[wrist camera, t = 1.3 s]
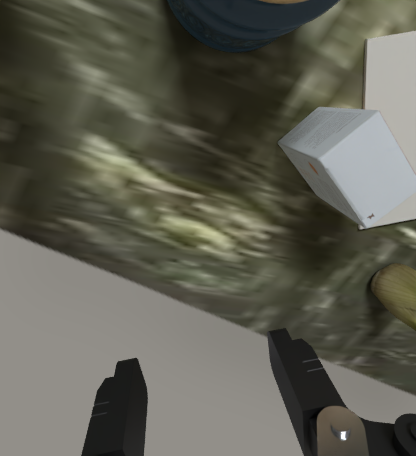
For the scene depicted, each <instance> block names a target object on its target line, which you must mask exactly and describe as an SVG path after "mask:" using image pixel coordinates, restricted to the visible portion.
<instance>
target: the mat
mask: <svg viewBox="0 0 416 456" xmlns="http://www.w3.org/2000/svg"><path fill="white" fill-rule="evenodd" d="M363 109H365V110H379V111H380V112H381V114H382V116H383V118H384V120H385V121H386V123H387V125H388V127H389V128H390V130H391V132H392V134H393V135H394V137H395V139H396V141H397V142H398V144H399V146H400V148H401V149H402V151H403V153H404V155H405V156H406V158H407V160H408V161H409V163H410V165H411V167H412V168H413V170H414V172H415V174H416V31H413V32H407V33H401V34H395V35H389V36H383V37H377V38H371V39H366V40H365V57H364V85H363ZM411 219H416V192H415V193H414V194H413V195H412V196H410V197H409V198H408V199H406V200H405V201H404V202H402V203H401V204H399V205H398V206H397V207H396V208H394V209H393V210H391V211H390V212H389V213H387V214H386V215H385V216H383V217H382V218H381V219H379V220H378V221H377V222H375V223H374V224H373V225H371V226H370V227H375V226H380V225H386V224H391V223H396V222H401V221H406V220H411ZM370 227H369V228H370ZM358 228H359V229H365V228H364V227H362V226H361V225H359V224H358Z"/></svg>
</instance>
